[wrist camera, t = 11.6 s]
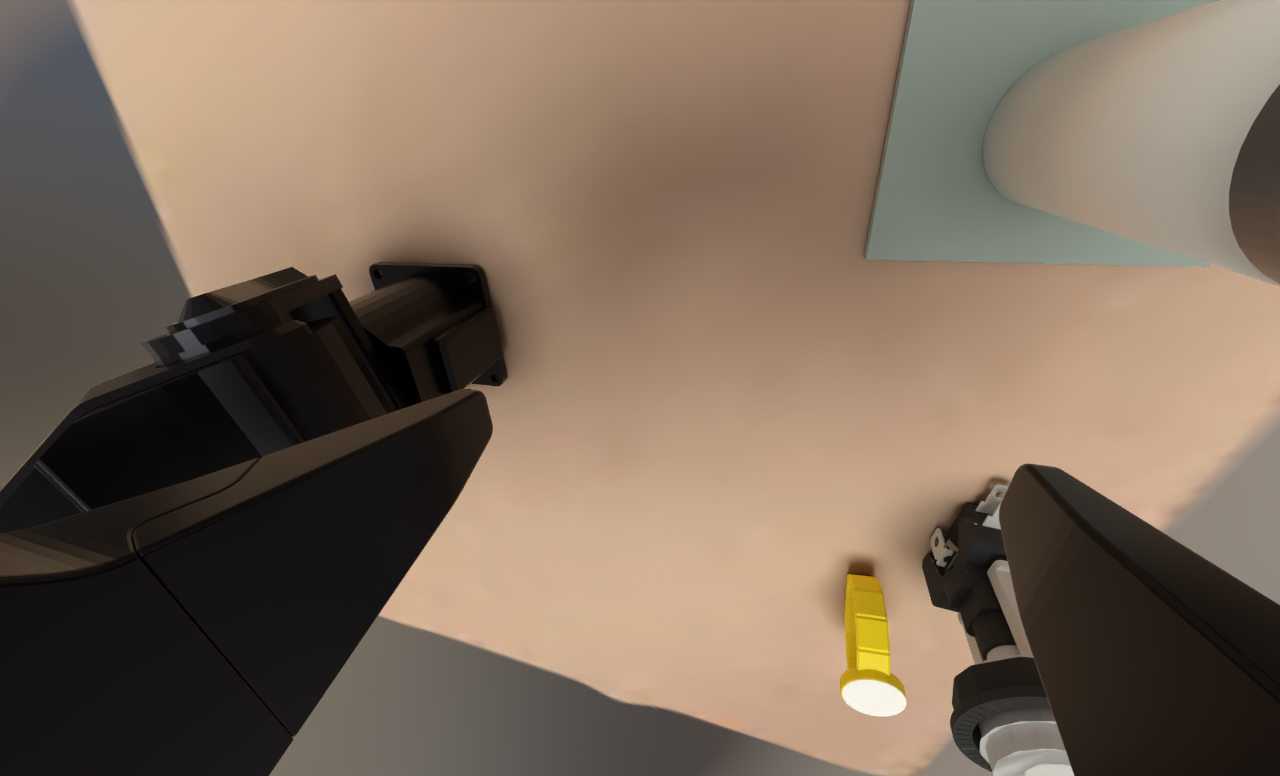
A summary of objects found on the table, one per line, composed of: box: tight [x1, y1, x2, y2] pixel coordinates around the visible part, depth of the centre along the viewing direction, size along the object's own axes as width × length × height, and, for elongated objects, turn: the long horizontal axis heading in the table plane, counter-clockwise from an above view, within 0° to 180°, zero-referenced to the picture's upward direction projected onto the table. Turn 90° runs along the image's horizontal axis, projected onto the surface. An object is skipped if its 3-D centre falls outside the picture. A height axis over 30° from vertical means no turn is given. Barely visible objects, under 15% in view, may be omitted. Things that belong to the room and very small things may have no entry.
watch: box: [840, 574, 907, 717], centre depth 24 cm, size 6×3×6 cm, turn 9°
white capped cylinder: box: [983, 0, 1280, 286], centre depth 9 cm, size 4×4×12 cm
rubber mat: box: [864, 0, 1219, 267], centre depth 14 cm, size 10×8×1 cm
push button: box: [922, 484, 1074, 776], centre depth 19 cm, size 7×5×10 cm
